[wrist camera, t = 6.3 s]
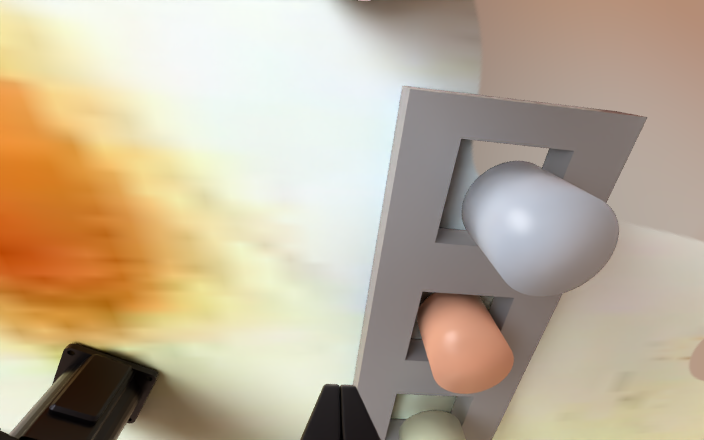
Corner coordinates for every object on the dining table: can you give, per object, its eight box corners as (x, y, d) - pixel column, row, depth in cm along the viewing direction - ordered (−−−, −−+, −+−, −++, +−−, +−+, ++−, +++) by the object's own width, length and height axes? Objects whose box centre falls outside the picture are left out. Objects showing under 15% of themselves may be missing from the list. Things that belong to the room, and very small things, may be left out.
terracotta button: (473, 341, 25) (499, 395, 21) (410, 337, 24) (424, 392, 20) (492, 289, 23) (525, 338, 19) (424, 285, 22) (442, 333, 18)
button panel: (473, 435, 31) (482, 459, 29) (345, 431, 30) (345, 455, 28) (616, 111, 18) (647, 117, 16) (402, 85, 17) (410, 88, 15)
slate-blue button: (534, 248, 19) (588, 300, 15) (452, 241, 18) (483, 292, 14) (568, 166, 16) (641, 199, 13) (475, 156, 16) (520, 188, 12)
